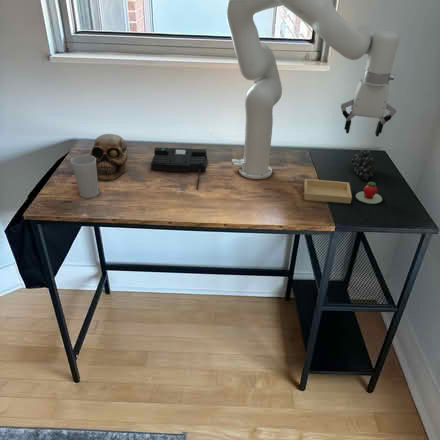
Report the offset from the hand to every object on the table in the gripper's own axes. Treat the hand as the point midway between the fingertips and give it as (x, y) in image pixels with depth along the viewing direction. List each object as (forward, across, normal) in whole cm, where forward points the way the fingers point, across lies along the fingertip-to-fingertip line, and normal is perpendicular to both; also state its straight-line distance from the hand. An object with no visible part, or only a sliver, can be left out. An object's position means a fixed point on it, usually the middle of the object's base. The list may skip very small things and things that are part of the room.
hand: (361, 133), depth 147 cm
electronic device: (+22, +63, -4) cm, 67 cm away
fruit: (+20, -6, -13) cm, 25 cm away
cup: (+23, +88, +21) cm, 94 cm away
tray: (+20, +8, +6) cm, 23 cm away
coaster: (+20, -7, +6) cm, 22 cm away
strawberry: (+20, -7, +6) cm, 21 cm away
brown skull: (+23, +88, +1) cm, 91 cm away
